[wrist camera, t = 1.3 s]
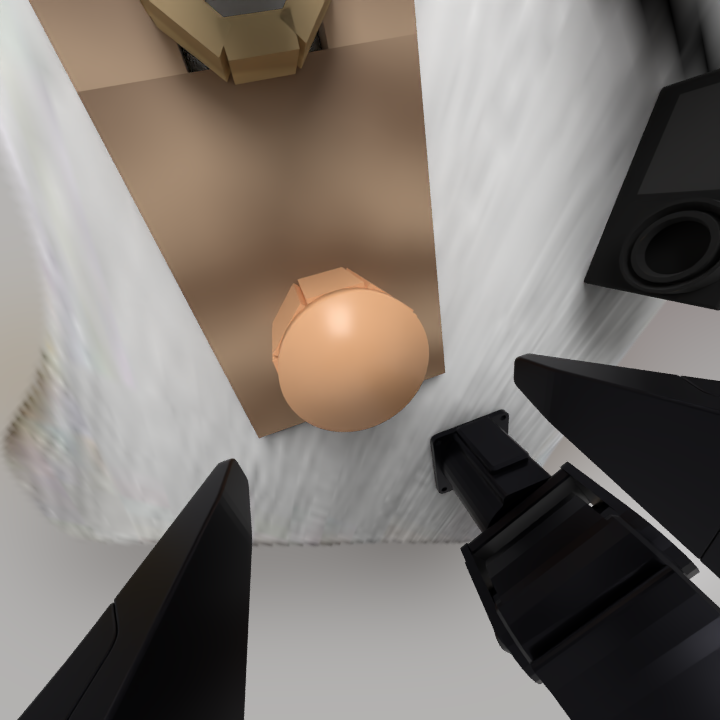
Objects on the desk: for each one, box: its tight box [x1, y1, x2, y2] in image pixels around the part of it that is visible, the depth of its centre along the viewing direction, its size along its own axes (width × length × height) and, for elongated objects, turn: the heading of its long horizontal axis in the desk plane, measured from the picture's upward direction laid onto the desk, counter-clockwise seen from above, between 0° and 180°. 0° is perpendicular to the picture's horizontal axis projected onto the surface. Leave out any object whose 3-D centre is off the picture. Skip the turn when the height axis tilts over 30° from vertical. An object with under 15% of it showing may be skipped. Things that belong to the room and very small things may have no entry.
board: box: [29, 0, 445, 438], centre depth 12 cm, size 21×12×3 cm, turn 13°
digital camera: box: [584, 69, 720, 310], centre depth 15 cm, size 10×5×7 cm, turn 175°
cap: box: [272, 267, 429, 432], centre depth 13 cm, size 6×6×5 cm
